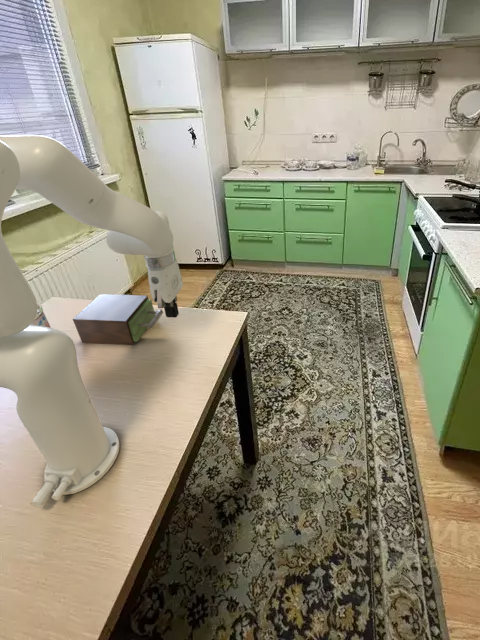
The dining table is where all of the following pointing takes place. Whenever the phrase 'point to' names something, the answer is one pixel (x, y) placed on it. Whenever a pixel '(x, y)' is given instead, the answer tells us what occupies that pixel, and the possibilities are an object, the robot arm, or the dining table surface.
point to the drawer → (143, 319)
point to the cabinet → (108, 319)
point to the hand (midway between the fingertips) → (172, 315)
